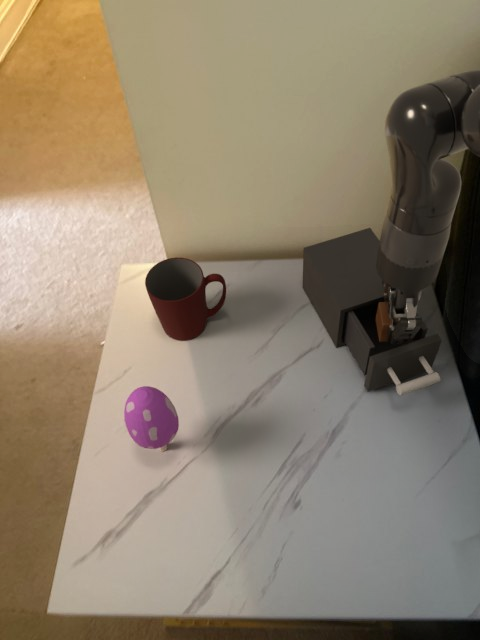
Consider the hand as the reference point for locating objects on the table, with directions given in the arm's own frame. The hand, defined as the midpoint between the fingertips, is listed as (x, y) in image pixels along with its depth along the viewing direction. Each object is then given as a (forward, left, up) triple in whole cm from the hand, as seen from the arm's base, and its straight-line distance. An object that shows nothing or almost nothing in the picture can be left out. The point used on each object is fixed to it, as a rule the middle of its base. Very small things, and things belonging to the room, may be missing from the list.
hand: (392, 328), depth 80 cm
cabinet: (+11, -3, -8) cm, 14 cm away
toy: (+9, +35, -8) cm, 37 cm away
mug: (+25, +19, -8) cm, 32 cm away
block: (0, 0, 0) cm, 0 cm away
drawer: (0, 0, -7) cm, 7 cm away
